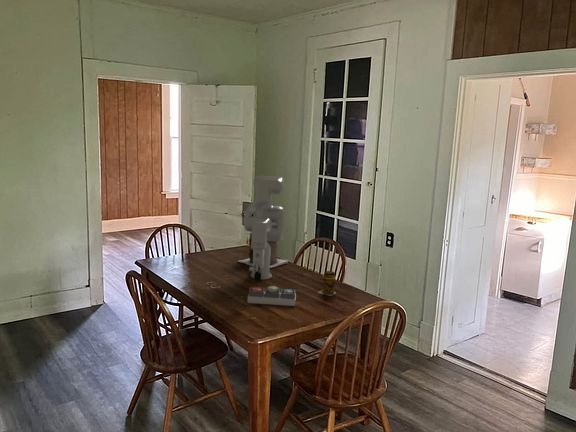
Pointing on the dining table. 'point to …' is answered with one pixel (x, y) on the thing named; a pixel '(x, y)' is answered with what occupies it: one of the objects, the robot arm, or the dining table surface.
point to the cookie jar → (273, 255)
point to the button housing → (272, 297)
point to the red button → (257, 289)
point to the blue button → (288, 291)
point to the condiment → (328, 284)
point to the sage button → (272, 289)
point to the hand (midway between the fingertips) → (257, 280)
